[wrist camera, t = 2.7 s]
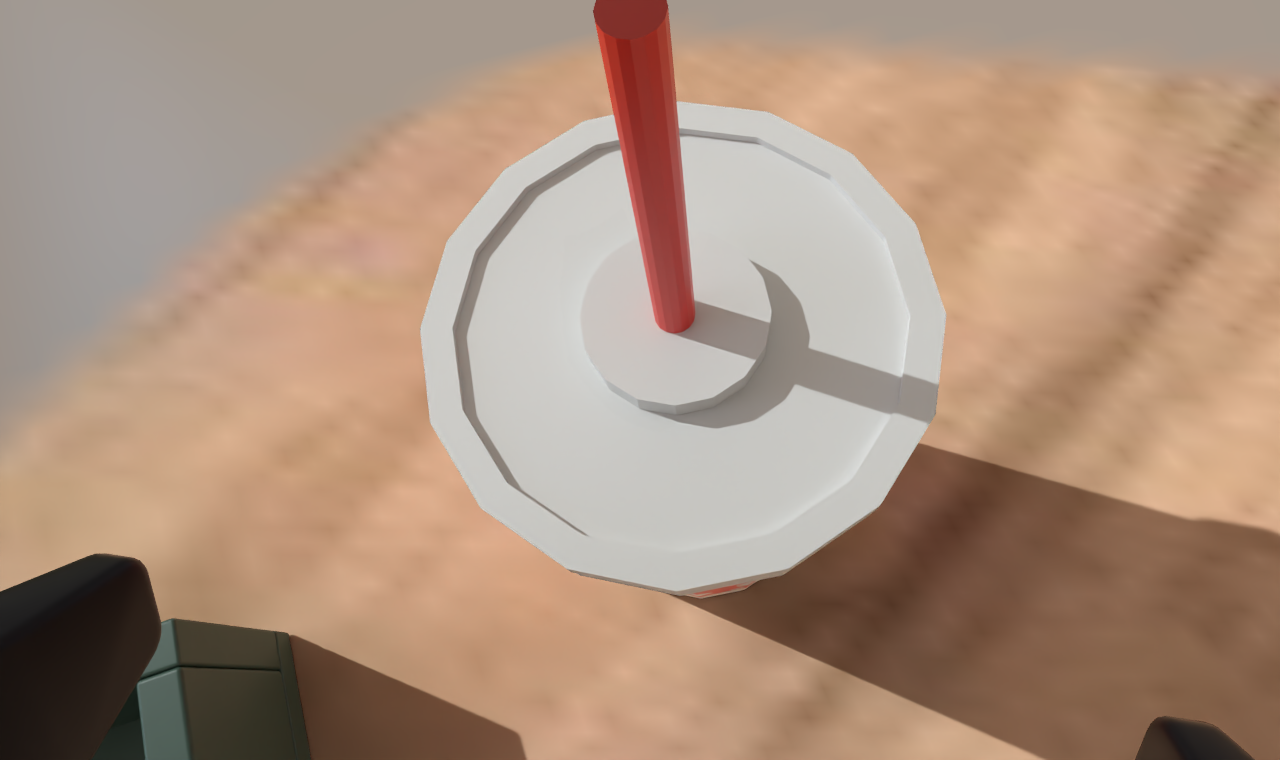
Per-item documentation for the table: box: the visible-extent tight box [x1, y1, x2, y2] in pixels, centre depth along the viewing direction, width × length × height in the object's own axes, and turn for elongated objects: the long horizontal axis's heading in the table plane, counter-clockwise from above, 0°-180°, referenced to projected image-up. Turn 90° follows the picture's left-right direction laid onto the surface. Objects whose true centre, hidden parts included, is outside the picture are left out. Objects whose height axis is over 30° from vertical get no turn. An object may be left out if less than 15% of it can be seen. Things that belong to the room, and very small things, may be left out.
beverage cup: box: [420, 0, 946, 599], centre depth 12 cm, size 6×6×14 cm
